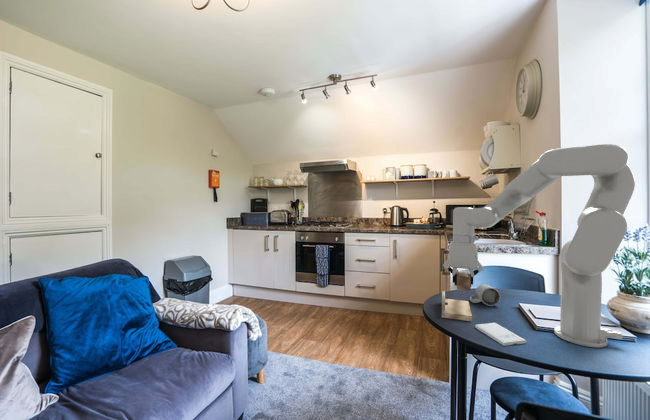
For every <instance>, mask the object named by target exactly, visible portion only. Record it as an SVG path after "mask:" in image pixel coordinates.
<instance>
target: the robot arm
mask: <svg viewBox="0 0 650 420" xmlns="http://www.w3.org/2000/svg"><path fill="white" fill-rule="evenodd" d="M628 162H629V154H628V151H627V150H626V149H625V148H624V147H622V146H620V145H619V144H618V145H617V144H611V143H606V144H605V143H604V144H594V145H585V146H584V145H583V146H574V147H572V146H571V147H562V148H554V149H549V150H547V151H545V152H544V153H542V154H541V155H540V156H539V158H538V159H537V160H536V161H535V162H533V163H532V164H531V165H530V166H529V167H527V168H525V170H524V171H523V172H521V173H520V174H519V175H517V176H516V177H514V179H512V180H511V181H510V182H509V183H508V184H507V185H506V187H504V189H503V190H502V192H500V194H498V195H497V196H496V197H495V198H494V199H492V200H491V201H490V202H489V203H487V204H486V205H485V206H482V207H476V208H473V207H467V206H466V207H459V206H458V207H454V209H453V211H452V241H450V243H449V248H448V249H449V250H448V258H447V259H446V260H445V262H444V263H443V264H442V265H443V267H444V268H445V269H446V270H448V272H450V273H451V274H452V283H453V284H454V286H456V285H457V275H456V270H458V269H462V270H464V269H465V270H469V271H468V272H469V275H470V277H471V286H472V285H474V277H475V276H476V275H478V274H479V273H481V272H482V271H484V270H485V268H484V266H483V265H482V263H480V261H479V254H478V247H477V243H476V242H475V241H479V236H476V235H475V227H477V228H483V229H486V228H487V229H488V228H489V229H490V228H492V227H493V226H495V225H496V224H497V223H499V222H500V221H501V220H503V219H504V218H506V217H507V216H508V215H509V214H511V213H512V212H513V211H515V210H516V209H517V208H519V207H521V206H522V205H524V204H526V203H528V202H529V201H530V200H532V199H533V198H534V197H537V195H538V194H540V193H541V192H542V191H544V190H545V189H546V188H548V187H549V186H550V185H552V184H553V183H555V182H556V181H557V180H559V179H560V178H561V177H575V176H576V177H577V176H578V177H579V176H591V177H592V178H593V183H594V184H593V188H592V190H591V193H590V195H589V197H588V199H587V202H586V204H585V206H584V208H583V209H582V211H581V213H580V214H579V216H578V218H577V229H576V231H575V233H574V235H573V237H572V239H571V240H569V241H567V242H565V243H564V245H563V246H562V248H561V251H560V272H561V274H560V275H561V276H560V315H559V316H560V322H559V323H560V324H559V325H557V326H555V327H554V329H553V331H554V334H555V335H556V336H557V337H559V338H560V339H562V340H564V341H567V342H569V343H572V344H576V345H579V346H583V347H588V348H604V347H607V346H608V339H609V338H612V339H615V340H616V339H617V340H623V334H622V332H618V331H613V330H612V329H610V328H604V327H602V326H601V324H602V323H601V322H602V293H603V292H602V291H603V288H602V286H603V281H602V279H603V277H602V273H603V272H604V271H606V269H607V268H608V267H609V265H610V264H611V262H612V260H613V259H614V257H615V254H617V253H616V252H617V251H618V249H619V247H620V245H621V243H622V241H623V240H624V238H625V236H626V233H627V230H628V222H627V220H626V218H625V216H624V213H625V212H626V209H627V207H628V205H629V202H630V201H631V199H632V196H633V194H634V191H635V186H636V180H635V175H634V173H633V170H632V168H631V167H630V166H629V165H628ZM456 287H457V286H456Z"/></svg>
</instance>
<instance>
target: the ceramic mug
mask: <svg viewBox="0 0 650 420" xmlns="http://www.w3.org/2000/svg"><path fill="white" fill-rule="evenodd" d="M469 301H470V302H471V303H473V304H477V303H481V302H482V304H484V305H486V306H488V307H494V306H497V305H498V304H499V303H500V302H501V294H500V292H499V290H498V289H496V288H495V287H493V286H490V285H488V284H483V283H482V284H480V285H478V286H477V287H476V289H475V294H472V295H470V297H469Z"/></svg>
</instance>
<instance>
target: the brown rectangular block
mask: <svg viewBox="0 0 650 420" xmlns="http://www.w3.org/2000/svg"><path fill="white" fill-rule="evenodd" d="M469 274H470V271H468V269H465V270H464V269H457V270H456V275H457V285H456V290H459V291H468V292H471V288H472V285H471V277H470V275H469Z"/></svg>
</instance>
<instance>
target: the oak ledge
mask: <svg viewBox="0 0 650 420" xmlns="http://www.w3.org/2000/svg"><path fill="white" fill-rule="evenodd" d="M441 318H443V319H444V318H446V319H452V320H458V321H467V322H472V321H473V315H472V311H471V307H470V302H469V300H462V299H452V298H449V297H448V295H446V291H445V290H442V291H441Z"/></svg>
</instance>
